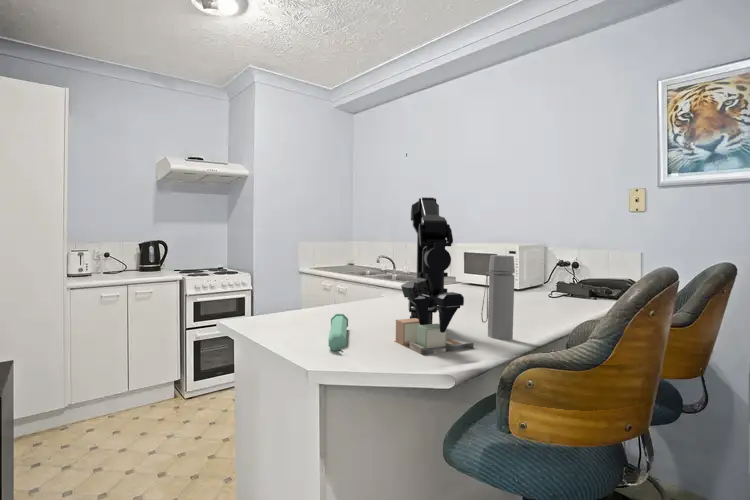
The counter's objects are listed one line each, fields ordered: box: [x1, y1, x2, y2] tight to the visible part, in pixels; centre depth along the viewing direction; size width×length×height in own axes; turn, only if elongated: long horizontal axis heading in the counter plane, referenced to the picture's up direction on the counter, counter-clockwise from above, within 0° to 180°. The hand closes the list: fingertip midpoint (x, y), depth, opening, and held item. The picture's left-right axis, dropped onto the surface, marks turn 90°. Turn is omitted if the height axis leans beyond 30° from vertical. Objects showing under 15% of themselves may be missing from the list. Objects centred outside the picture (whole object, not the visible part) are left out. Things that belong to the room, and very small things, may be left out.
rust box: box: [395, 318, 420, 346], centre depth 116 cm, size 4×6×6 cm, turn 117°
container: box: [328, 313, 349, 352], centre depth 122 cm, size 6×6×25 cm
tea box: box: [417, 323, 448, 349], centre depth 109 cm, size 4×6×6 cm, turn 117°
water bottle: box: [480, 254, 516, 341], centre depth 124 cm, size 9×8×25 cm
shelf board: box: [393, 337, 475, 356], centre depth 114 cm, size 16×15×3 cm
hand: (431, 328), depth 109 cm, fingers open, 9 cm apart
